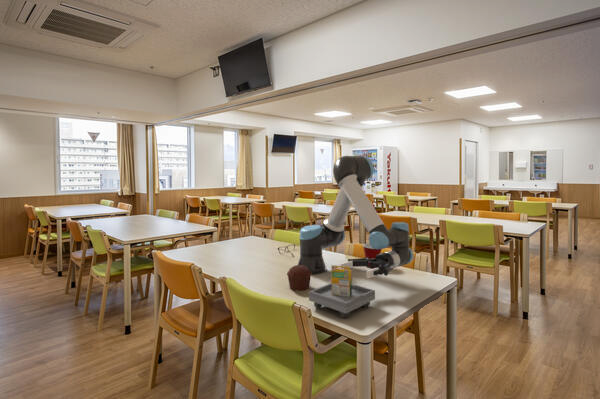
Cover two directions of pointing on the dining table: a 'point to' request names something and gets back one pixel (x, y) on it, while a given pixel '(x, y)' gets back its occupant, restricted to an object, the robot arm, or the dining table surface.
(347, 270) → the crayon box
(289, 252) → the eyeglasses
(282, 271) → the dining table surface
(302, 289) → the muffin
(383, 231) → the robot arm
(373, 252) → the plastic cup
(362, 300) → the grey footed tray
